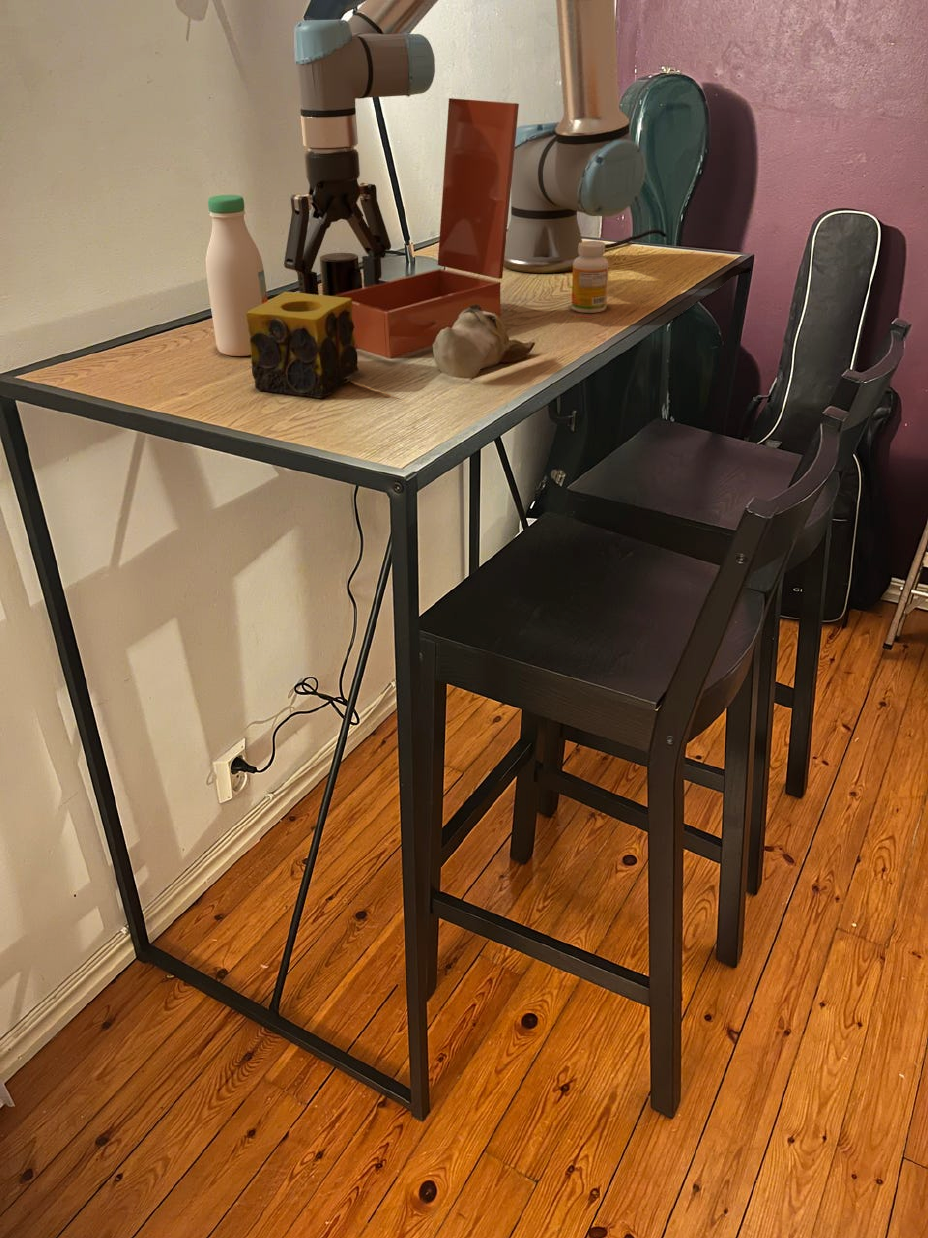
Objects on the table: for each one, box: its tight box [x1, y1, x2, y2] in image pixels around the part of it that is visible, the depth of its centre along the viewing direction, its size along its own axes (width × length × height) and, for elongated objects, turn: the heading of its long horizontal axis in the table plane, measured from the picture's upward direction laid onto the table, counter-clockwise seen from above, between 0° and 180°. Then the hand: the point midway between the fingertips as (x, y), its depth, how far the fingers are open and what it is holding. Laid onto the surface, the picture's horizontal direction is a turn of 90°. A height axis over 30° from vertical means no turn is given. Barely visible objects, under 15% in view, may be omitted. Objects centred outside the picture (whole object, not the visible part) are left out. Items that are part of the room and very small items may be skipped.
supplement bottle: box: [571, 240, 610, 314], centre depth 155 cm, size 5×5×10 cm
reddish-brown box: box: [332, 268, 501, 360], centre depth 144 cm, size 22×13×7 cm, turn 135°
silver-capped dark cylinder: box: [319, 252, 363, 296], centre depth 150 cm, size 8×6×10 cm
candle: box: [246, 291, 359, 399], centre depth 127 cm, size 10×10×10 cm
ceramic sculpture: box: [432, 305, 536, 381], centre depth 131 cm, size 11×9×15 cm
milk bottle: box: [205, 194, 269, 357], centre depth 137 cm, size 8×8×20 cm
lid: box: [437, 97, 520, 280], centre depth 144 cm, size 22×13×1 cm
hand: (343, 309), depth 152 cm, fingers open, 11 cm apart
